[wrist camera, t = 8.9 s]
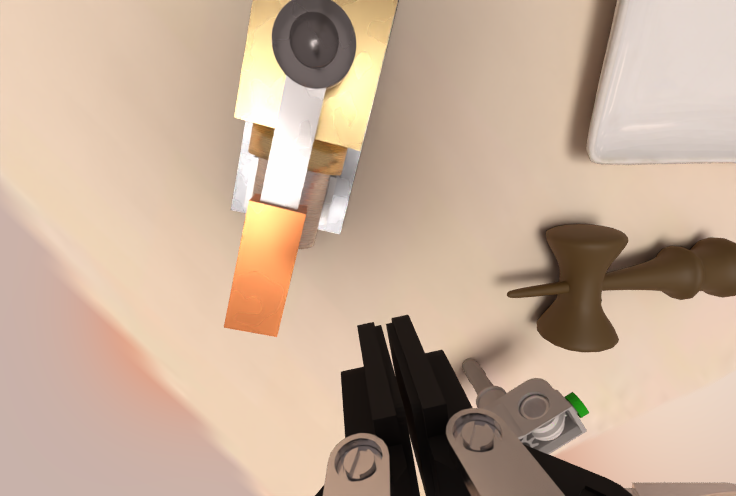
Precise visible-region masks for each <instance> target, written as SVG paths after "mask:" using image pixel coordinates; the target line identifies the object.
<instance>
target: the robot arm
mask: <svg viewBox="0 0 736 496" xmlns="http://www.w3.org/2000/svg"><path fill="white" fill-rule="evenodd" d="M386 326H387V332H388V338H389V343H390V349H391V354H392V360H393V366H394V370H393V366H392V363H391V359H390V355H389V352H388V348H387V345H386V341H385V337H384V334H383V330H382V327H381V325H379V326H374V322H372V323H367V324H362V325H357V327H358V333H359V340H360V346H361V352H362V358H363V364H364V367H360V368H356V369H351V370H347V371H342V372H341V383H342V397H343V412H344V426H345V439H343V440H342V441H340V442H339V443H338V444H337V445H336V446H335V447H334V449H333V450H332V452H331V454H330V457H329V460H328V464H327V471H326V478H325V484H324V486H323V487H322V488H321V489H320V490H319V492H318V493H317V494H316V495H315V496H420V493H419V487H418V481H417V476H416V470H415V464H414V459H413V453H412V447H411V442H412V446H413V450H414V453H415V457H416V461H417V465H418V468H419V472H420V476H421V479H422V483H423V487H424V490H425V494H426V496H736V484H732V483H632V488H623V487H622V486H621V485H619V484H617V483H615V482H613V481H611V480H609V479H607V478H605V477H602V476H600V475H598V474H595V473H593V472H590V471H588V470H585V469H583V468H580V467H578V466H575V465H573V464H570V463H568V462H566V461H563V460H561V459H558V458H556V457H554V456H551V455H549V454H546V453H544V452H541V451H539V450H536V449H534V448H532V447H529V446H527V445H524V444H522V442H521V441H520V440H519V439H518V437H517V436H516V435H515V434H514V433H513V431H512V430H511V429H510V428H509V426H508V425H507V424H506V423H505V422H504V421H503V420H502V419H501V418H500V417H499V416H498V415H496V414H495V413H493V412H491V411H488V410H485V409H481V408H472V406H471V404H470V402H469V400H468V398H467V396H466V394H465V392H464V390H463V388H462V386H461V384H460V382H459V380H458V378H457V376H456V374H455V373H454V371H453V369H452V367H451V365H450V363H449V361H448V359H447V357H446V355H445V353H444V351H443V350H438V351H434V352H429V353H425V352H424V350H423V348H422V345H421V343H420V341H419V338H418V336H417V334H416V331H415V329H414V327H413V324H412V322H411V320H410V317H409V315H405V316H400V317H395V318H392V323H389V324H386ZM394 371H395V373H394ZM409 435H410V436H409ZM410 439H411V442H410Z"/></svg>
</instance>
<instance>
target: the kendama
mask: <svg viewBox="0 0 736 496" xmlns="http://www.w3.org/2000/svg"><path fill="white" fill-rule="evenodd" d="M546 239H547V242H548V244H549V246H550V248H551V250H552V251H553V253H554V255H555V257H556V259H557V261H558V264H559V270H560V280H559V282H555V283H549V284H543V285H537V286H531V287H525V288H520V289H516V290H512V291H509V292H508V293H507V296H508V297H510V298H523V297H535V296H545V295H555V294H558V295H557V297H556V299H555V301H554V302H553V303H552V305H551V306H550V307H549V308H548V309H547V310H546V311H545V312H544V313H543V314H542V315H541V317H540V318H539V319H538V321H537V331H538V332H539V333H540V335H541V336H542V337H543V338H544V339H546V340H547V341H549V342H551V343H552V344H554V345H556V346H559V347H561V348H564V349H567V350H571V351H578V352H600V351H604V350H607V349H611V348H613V347H614V346H615V345H616V344H617V343H618V341H619V339H618V336H617V334H616V331H615V329H614V327H613V326H612V324H611V323H610V321H609V320H608V318H607V317H606V315H605V313H604V312H603V309H602V306H601V301H602V299H601V292H602V291H605V290H656V291H662V292H663V293H665V294H667V295H668V296H670V297H672V298H676V299H680V300H684V299H690V298H693V297H694V296H695V295H696V294H697V293H698V292H699V291H704V292H705V293H707V294H709V295H714V296H718V297H729V296H735V295H736V243H734V242H732V241H729V240H727V239H725V238H707V239H703V240H700V241H698V242H697V243H696V244H695V245H694V246H693V247H692V248H691V250H688V249H686V248H684V247H680V246H669V247H666V248H663V249H662V250H661V251H660V252H659V253H658V255H657V256H656V258H654V259H652V260H650V261H647V262H644V263H641V264H638V265H635V266H631V267H628V268H624V269H620V270H616V271H612V272H608V273H606V272H607V270H608V268H609V267H610V265H611V264H612V262H613V261H614V260H615V259H616V258H617V256H618V255H619V254H620V253H621V252H622V250H623V249H624V248H625V246H626V245H627V243H628V237H627V236H626V235H625V234H624V233H623V232H621V231H619V230H616V229H614V228H610V227H605V226H599V225H590V224H570V225H561V226H556V227H554V228H551V229H549V230H547V231H546Z"/></svg>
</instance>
